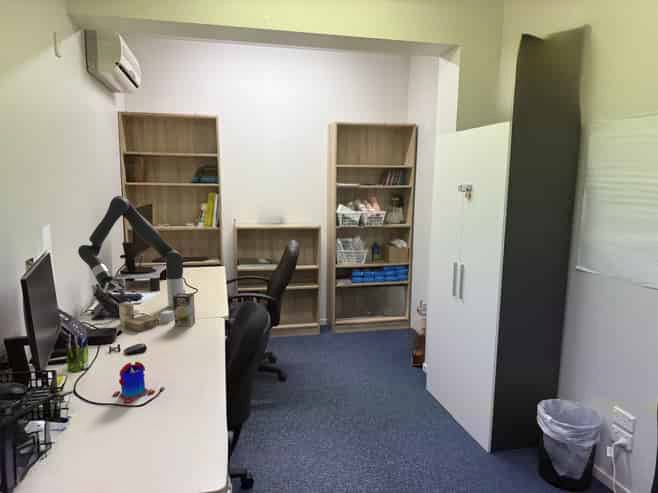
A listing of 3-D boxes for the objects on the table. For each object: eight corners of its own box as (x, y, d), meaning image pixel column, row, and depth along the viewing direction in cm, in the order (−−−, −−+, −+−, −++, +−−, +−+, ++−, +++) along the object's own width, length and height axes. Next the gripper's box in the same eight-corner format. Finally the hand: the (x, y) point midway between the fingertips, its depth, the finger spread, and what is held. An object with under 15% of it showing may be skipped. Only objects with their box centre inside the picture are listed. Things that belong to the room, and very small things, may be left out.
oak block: (129, 321, 239) (127, 301, 237) (134, 322, 236) (133, 303, 234) (120, 324, 235) (118, 303, 233) (126, 325, 232) (124, 305, 230)
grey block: (166, 319, 242) (165, 310, 241) (174, 319, 241) (173, 310, 240) (160, 322, 237) (160, 313, 237) (169, 322, 236) (168, 313, 235)
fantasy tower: (141, 383, 167) (138, 353, 166) (157, 392, 160) (155, 361, 158) (109, 395, 158) (106, 363, 157) (125, 405, 151) (122, 372, 149)
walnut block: (143, 322, 237) (143, 315, 236) (156, 326, 231) (156, 318, 230) (124, 328, 228) (124, 320, 227) (137, 332, 222) (137, 324, 221)
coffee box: (174, 326, 230) (172, 296, 228) (179, 322, 237) (177, 293, 234) (191, 326, 229) (189, 296, 227) (196, 322, 236) (194, 293, 233)
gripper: (91, 272, 234) (105, 296, 230) (116, 268, 246) (130, 290, 242) (87, 281, 238) (101, 305, 234) (112, 276, 250) (125, 298, 246)
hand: (116, 297), depth 238 cm, fingers open, 8 cm apart
